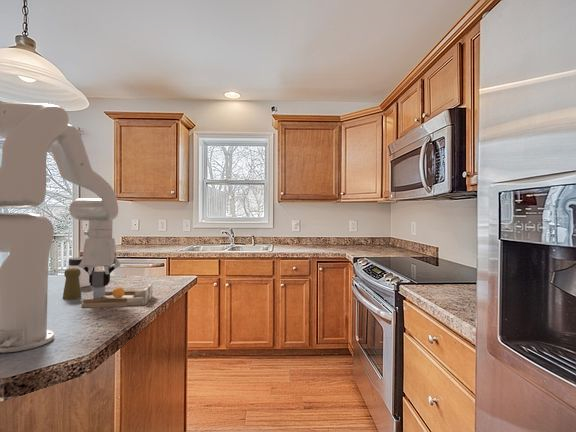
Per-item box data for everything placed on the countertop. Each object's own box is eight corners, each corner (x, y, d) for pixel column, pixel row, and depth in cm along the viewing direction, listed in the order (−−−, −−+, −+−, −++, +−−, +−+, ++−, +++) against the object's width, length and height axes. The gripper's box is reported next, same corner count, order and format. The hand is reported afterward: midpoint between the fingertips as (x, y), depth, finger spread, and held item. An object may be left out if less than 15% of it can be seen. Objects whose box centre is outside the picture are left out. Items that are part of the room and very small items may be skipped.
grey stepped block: (101, 299, 117) (101, 272, 117) (90, 299, 117) (90, 273, 117) (107, 295, 124) (108, 269, 124) (97, 295, 124) (97, 269, 124)
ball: (122, 299, 120) (122, 288, 120) (110, 299, 119) (110, 288, 119) (125, 296, 124) (126, 285, 124) (114, 296, 123) (114, 286, 123)
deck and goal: (144, 305, 117) (144, 291, 117) (81, 307, 113) (81, 292, 113) (152, 296, 131) (153, 283, 131) (97, 297, 127) (97, 284, 127)
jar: (81, 283, 152) (82, 256, 152) (95, 284, 149) (95, 257, 149) (62, 286, 144) (63, 259, 144) (76, 288, 141) (76, 260, 141)
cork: (72, 299, 122) (72, 270, 122) (58, 298, 124) (58, 269, 124) (85, 296, 128) (85, 267, 128) (71, 295, 130) (72, 266, 130)
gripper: (70, 234, 115) (69, 287, 115) (122, 235, 118) (121, 286, 118) (79, 233, 123) (78, 283, 123) (128, 233, 126) (127, 282, 126)
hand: (99, 284), depth 120 cm, fingers closed on grey stepped block, 3 cm apart
